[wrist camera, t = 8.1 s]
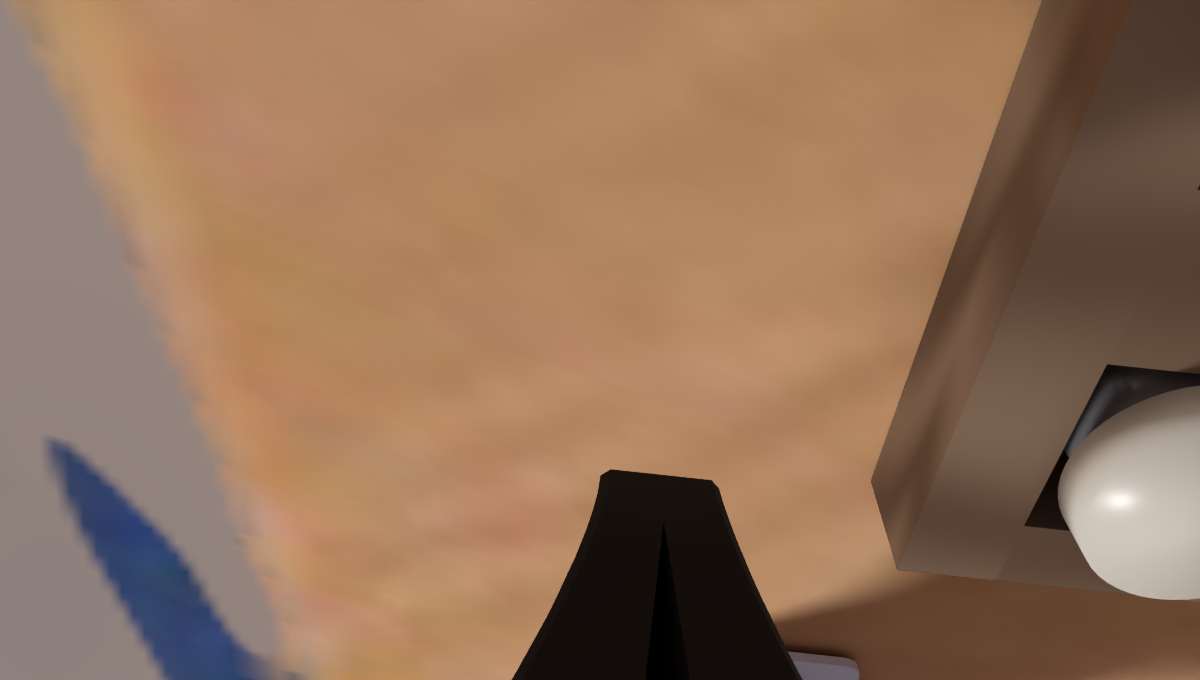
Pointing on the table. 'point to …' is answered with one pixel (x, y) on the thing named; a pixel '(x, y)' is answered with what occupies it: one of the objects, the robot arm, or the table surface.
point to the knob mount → (1052, 291)
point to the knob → (1138, 482)
